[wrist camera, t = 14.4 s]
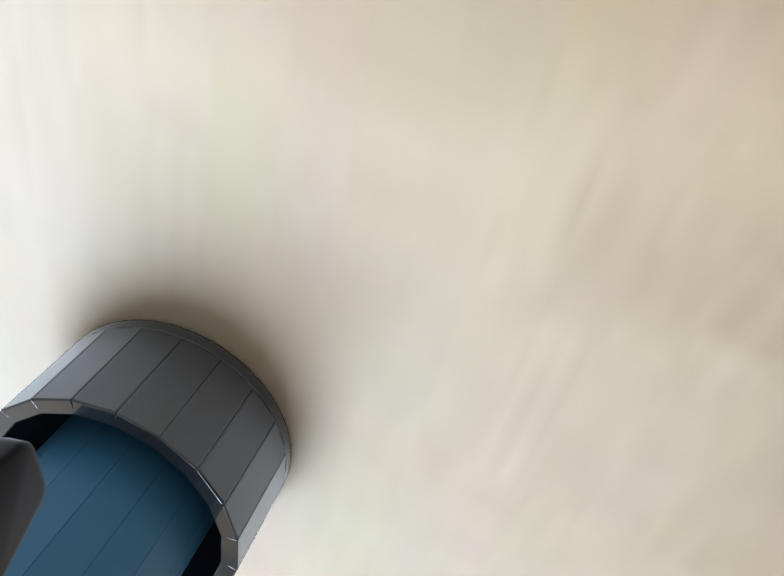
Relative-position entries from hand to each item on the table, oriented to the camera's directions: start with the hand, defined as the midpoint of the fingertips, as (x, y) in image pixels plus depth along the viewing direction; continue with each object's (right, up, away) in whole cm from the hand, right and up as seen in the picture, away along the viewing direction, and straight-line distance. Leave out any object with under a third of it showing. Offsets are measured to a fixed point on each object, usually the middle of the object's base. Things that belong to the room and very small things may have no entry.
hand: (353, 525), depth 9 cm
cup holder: (-8, -2, +18) cm, 20 cm away
